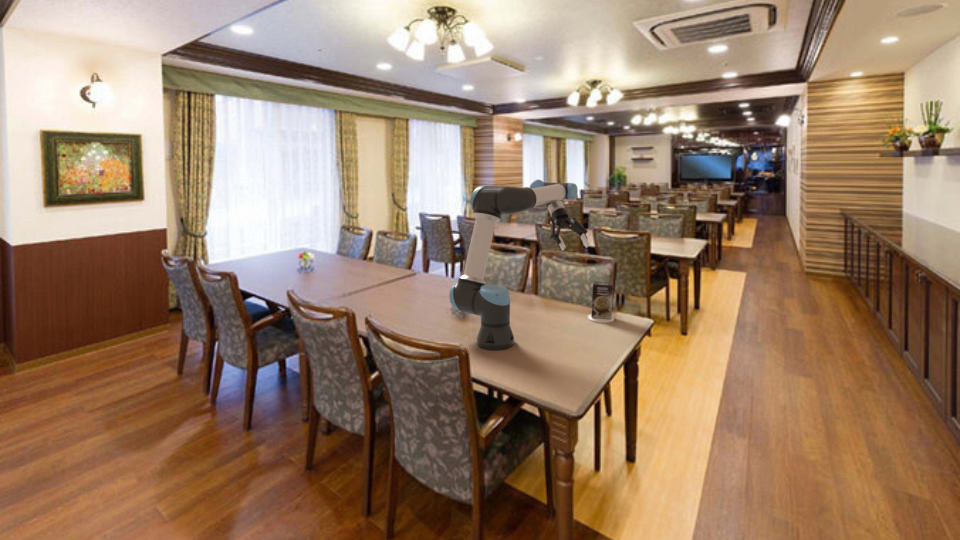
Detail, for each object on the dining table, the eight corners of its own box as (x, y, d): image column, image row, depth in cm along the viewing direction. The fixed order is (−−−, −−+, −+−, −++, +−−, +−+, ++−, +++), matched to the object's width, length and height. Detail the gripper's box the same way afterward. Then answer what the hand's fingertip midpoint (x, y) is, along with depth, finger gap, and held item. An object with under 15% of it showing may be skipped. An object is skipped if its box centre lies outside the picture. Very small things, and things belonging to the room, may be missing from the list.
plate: (599, 324, 218) (599, 322, 218) (582, 317, 228) (582, 315, 228) (620, 320, 223) (620, 318, 223) (602, 313, 233) (602, 311, 233)
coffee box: (591, 318, 224) (592, 284, 220) (591, 314, 230) (593, 280, 226) (611, 320, 221) (613, 285, 217) (612, 315, 227) (613, 281, 224)
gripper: (575, 215, 246) (593, 249, 237) (533, 218, 236) (550, 254, 226) (582, 205, 240) (601, 240, 231) (539, 208, 230) (557, 245, 220)
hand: (576, 247), depth 228 cm, fingers open, 13 cm apart
